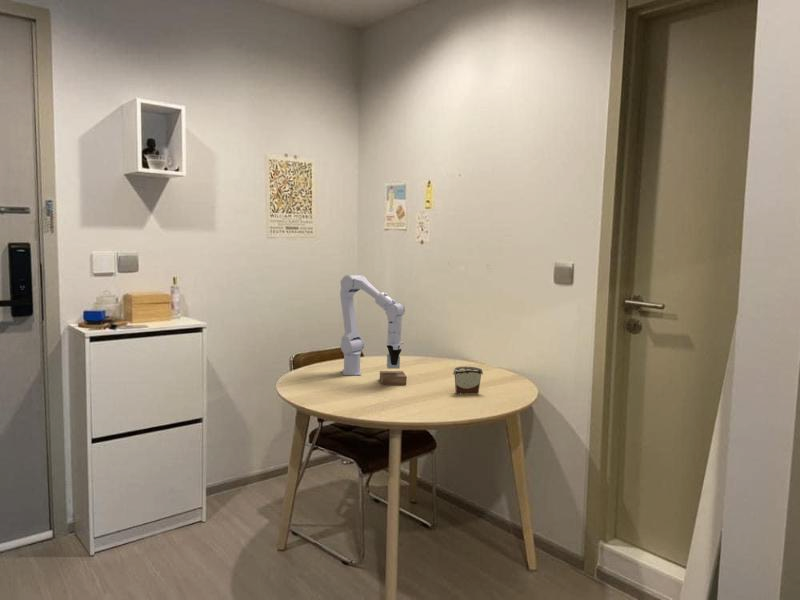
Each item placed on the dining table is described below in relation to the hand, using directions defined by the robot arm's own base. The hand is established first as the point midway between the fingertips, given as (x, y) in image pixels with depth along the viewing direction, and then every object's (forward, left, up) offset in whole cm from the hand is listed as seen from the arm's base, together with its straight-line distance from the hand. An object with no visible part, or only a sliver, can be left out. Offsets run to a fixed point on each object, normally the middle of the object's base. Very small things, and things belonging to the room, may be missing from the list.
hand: (393, 363), depth 253 cm
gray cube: (0, 0, -2) cm, 2 cm away
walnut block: (0, 0, -8) cm, 8 cm away
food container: (+15, +28, -8) cm, 33 cm away
